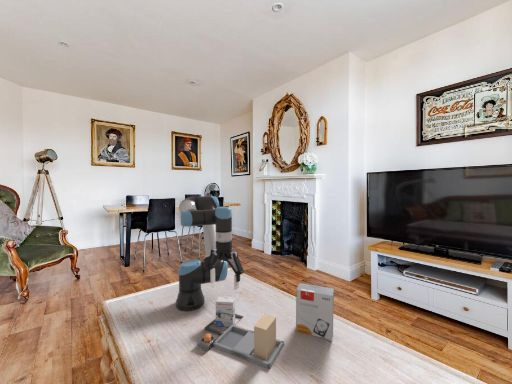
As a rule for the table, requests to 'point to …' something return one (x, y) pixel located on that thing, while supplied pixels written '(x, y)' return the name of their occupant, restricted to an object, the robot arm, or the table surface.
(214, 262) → the robot arm
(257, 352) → the billet
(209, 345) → the housing
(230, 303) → the ink box
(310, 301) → the hard drive box
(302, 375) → the table surface
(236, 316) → the frame
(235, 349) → the grey rectangular tray
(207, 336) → the brown egg
